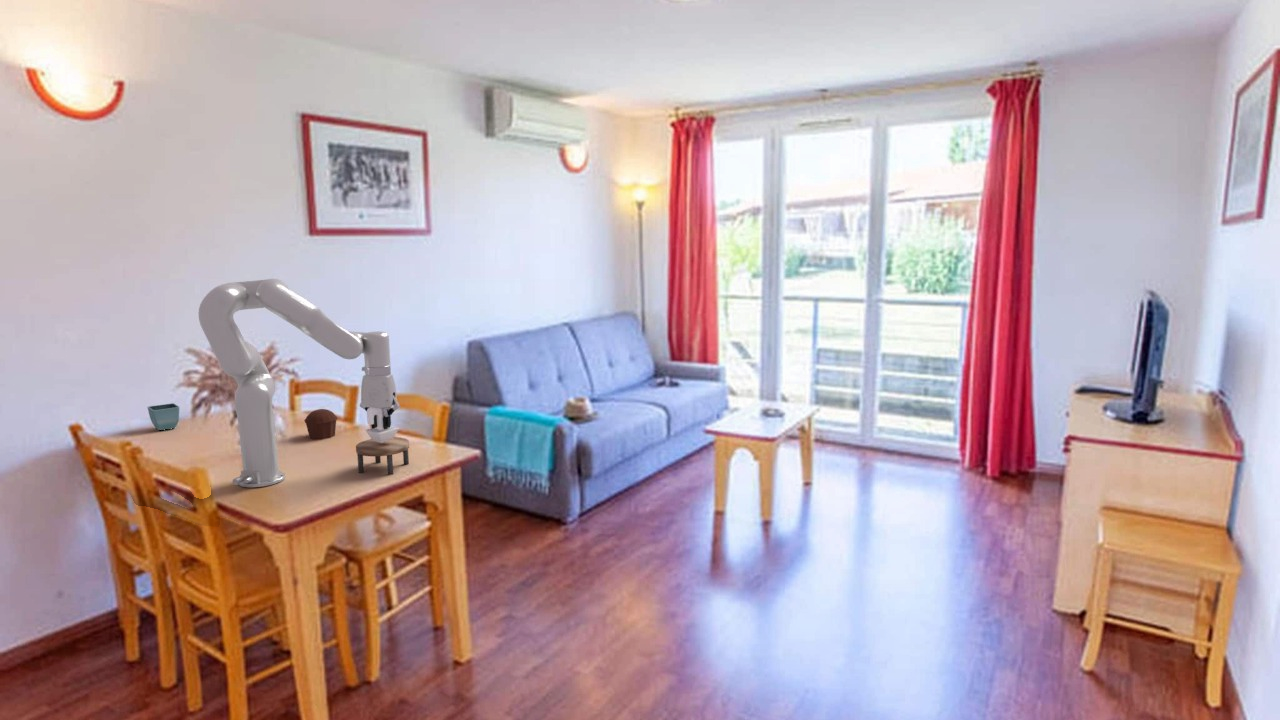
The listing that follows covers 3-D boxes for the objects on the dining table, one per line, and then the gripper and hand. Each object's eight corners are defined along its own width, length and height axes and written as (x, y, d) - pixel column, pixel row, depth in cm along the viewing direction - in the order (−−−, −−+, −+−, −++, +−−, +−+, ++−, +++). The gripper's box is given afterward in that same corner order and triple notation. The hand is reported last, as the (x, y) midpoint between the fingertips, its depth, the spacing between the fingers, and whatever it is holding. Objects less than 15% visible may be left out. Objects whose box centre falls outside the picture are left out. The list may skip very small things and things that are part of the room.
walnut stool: (394, 477, 216) (393, 452, 215) (347, 474, 219) (345, 449, 218) (419, 461, 232) (417, 438, 231) (374, 459, 235) (373, 436, 233)
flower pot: (182, 429, 271) (179, 406, 269) (155, 433, 264) (152, 410, 263) (176, 425, 277) (173, 402, 275) (149, 429, 270) (146, 406, 269)
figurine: (362, 441, 222) (359, 396, 219) (388, 434, 230) (385, 390, 227) (377, 446, 218) (373, 399, 215) (402, 438, 226) (399, 393, 223)
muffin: (333, 440, 257) (331, 413, 255) (301, 441, 255) (299, 414, 253) (342, 431, 268) (340, 406, 266) (311, 432, 267) (309, 406, 265)
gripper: (347, 372, 218) (350, 429, 221) (396, 374, 215) (399, 432, 218) (360, 368, 225) (363, 423, 228) (408, 370, 222) (411, 426, 225)
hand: (381, 427), depth 223 cm, fingers closed on figurine, 3 cm apart
